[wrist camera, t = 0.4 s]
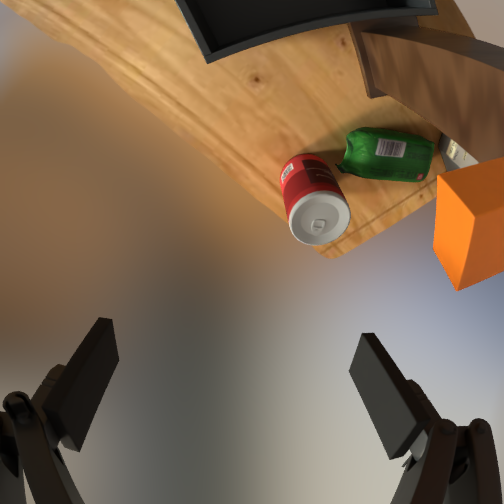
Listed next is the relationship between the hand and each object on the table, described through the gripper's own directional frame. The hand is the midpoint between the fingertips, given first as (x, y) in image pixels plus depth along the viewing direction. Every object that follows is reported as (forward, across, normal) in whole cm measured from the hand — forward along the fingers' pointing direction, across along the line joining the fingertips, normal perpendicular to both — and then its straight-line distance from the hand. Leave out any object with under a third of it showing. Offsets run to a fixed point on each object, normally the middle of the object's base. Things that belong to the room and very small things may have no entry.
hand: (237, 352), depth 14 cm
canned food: (+31, +10, +8) cm, 34 cm away
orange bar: (-4, +16, +12) cm, 21 cm away
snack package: (+29, +21, +14) cm, 38 cm away
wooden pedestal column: (+22, +18, +27) cm, 39 cm away
